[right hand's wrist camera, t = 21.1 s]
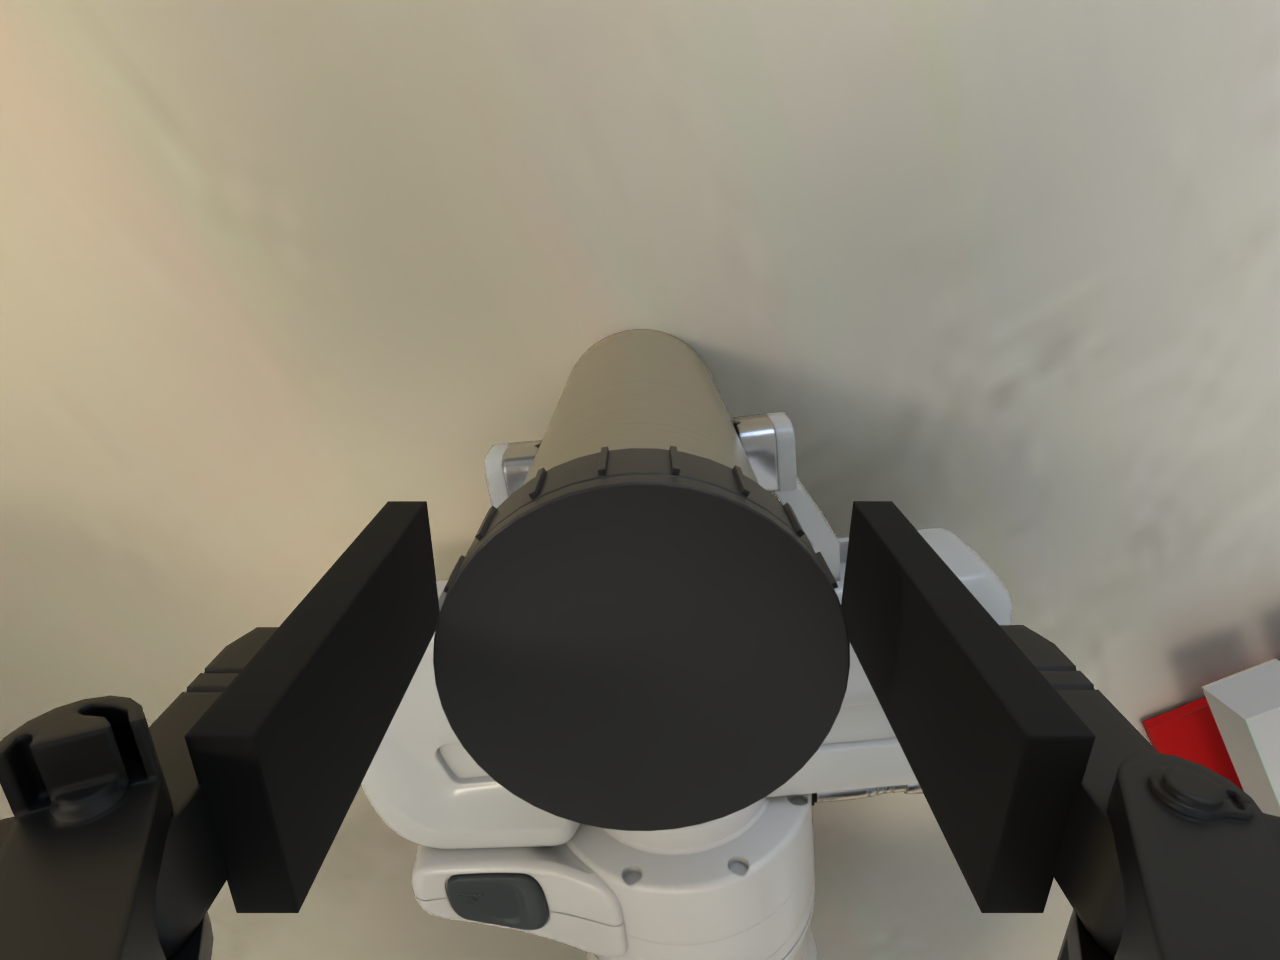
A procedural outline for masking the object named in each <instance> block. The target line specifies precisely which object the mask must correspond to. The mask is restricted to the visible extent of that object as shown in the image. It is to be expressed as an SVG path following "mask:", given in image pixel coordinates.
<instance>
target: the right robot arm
mask: <svg viewBox="0 0 1280 960" xmlns="http://www.w3.org/2000/svg"><path fill="white" fill-rule="evenodd" d="M841 607H842V610H843V613H844V616H845V619H846V623H847V629H848V635H849V641H850V643H851V646H852V648H853V650H854V652H855V654H856V656H857V658H858V660H859V662H860V664H861V666H862V668H863V670H864V672H865V674H866V676H867V678H868V680H869V682H870V685H871V687H872V689H873V691H874V693H875V695H876V697H877V699H878V701H879V703H880V705H881V707H882V709H883V711H884V713H885V715H886V717H887V719H888V721H889V724H890V726H891V728H892V730H893V732H894V734H895V736H896V738H897V740H898V742H899V744H900V746H901V748H902V750H903V752H904V754H905V756H906V758H907V760H908V763H909V765H910V767H911V769H912V771H913V773H914V775H915V777H916V779H917V781H918V783H919V785H920V787H921V789H922V791H923V793H924V795H925V797H926V799H927V802H928V804H929V806H930V808H931V810H932V812H933V814H934V816H935V818H936V820H937V822H938V824H939V826H940V828H941V830H942V832H943V834H944V836H945V838H946V841H947V843H948V845H949V847H950V849H951V851H952V853H953V855H954V857H955V859H956V861H957V863H958V865H959V867H960V869H961V871H962V873H963V875H964V877H965V879H966V882H967V884H968V886H969V888H970V890H971V892H972V894H973V896H974V898H975V900H976V902H977V904H978V906H979V908H980V910H981V912H982V913H1043V912H1044V908H1045V905H1046V902H1047V898H1048V895H1049V892H1050V888H1051V885H1052V881H1053V878H1055V880H1056V881H1057V883H1058V884H1059V886H1060V888H1061V889H1062V891H1063V892H1064V894H1065V896H1066V897H1067V899H1068V900H1069V902H1070V904H1071V905H1072V907H1073V912H1072V915H1071V918H1070V922H1069V925H1068V928H1067V931H1066V934H1065V937H1064V940H1063V944H1062V947H1061V950H1060V953H1059V956H1058V959H1057V960H1280V817H1278V816H1274V815H1269V814H1265V813H1263V812H1262V811H1261V810H1260V808H1259V807H1258V806H1257V804H1256V803H1255V802H1254V800H1253V799H1252V798H1251V797H1250V796H1249V795H1248V794H1246V793H1245V792H1244V791H1243V790H1241V789H1240V788H1239V787H1238V786H1237V785H1235V784H1234V783H1233V782H1232V781H1230V780H1229V779H1227V778H1225V777H1223V776H1221V775H1220V774H1218V773H1216V772H1214V771H1212V770H1210V769H1209V768H1207V767H1205V766H1203V765H1200V764H1198V763H1195V762H1192V761H1189V760H1186V759H1183V758H1180V757H1178V756H1174V755H1167V754H1160V753H1158V752H1157V751H1156V750H1155V749H1154V747H1153V746H1152V745H1151V744H1150V743H1149V742H1148V741H1147V740H1146V739H1145V738H1144V737H1143V736H1142V735H1141V734H1140V733H1139V732H1138V731H1137V730H1136V729H1135V728H1134V727H1133V726H1132V725H1131V723H1130V722H1129V721H1128V720H1127V719H1126V718H1125V717H1124V716H1123V715H1122V714H1121V713H1120V712H1119V711H1118V710H1117V709H1116V708H1115V707H1114V706H1113V705H1112V704H1111V703H1110V702H1109V701H1108V699H1107V698H1106V697H1105V696H1104V695H1103V694H1102V693H1101V692H1100V691H1099V690H1094V685H1093V684H1092V683H1091V682H1090V681H1089V680H1088V679H1087V678H1086V677H1085V675H1084V674H1083V673H1082V672H1081V671H1076V666H1075V665H1074V664H1073V663H1072V662H1071V661H1070V660H1069V659H1068V658H1067V657H1066V656H1065V655H1064V654H1063V652H1062V651H1061V650H1060V649H1059V648H1058V647H1057V646H1056V645H1055V644H1053V643H1052V642H1050V641H1048V640H1047V639H1045V638H1044V637H1042V636H1040V635H1039V634H1037V633H1035V632H1034V631H1032V630H1030V629H1029V628H1027V627H1025V626H1024V625H999V624H998V623H997V622H996V621H995V620H994V619H993V617H992V616H991V615H990V614H989V613H988V612H987V611H986V609H985V608H984V607H983V606H982V605H981V604H980V603H979V601H978V600H977V599H976V598H975V597H974V596H973V594H972V593H971V592H970V591H969V590H968V589H967V588H966V586H965V585H964V584H963V583H962V582H961V581H960V579H959V578H958V577H957V576H956V575H955V574H954V573H953V571H952V570H951V569H950V568H949V567H948V566H947V565H946V563H945V562H944V561H943V560H942V559H941V558H940V556H939V555H938V554H937V553H936V552H935V551H934V550H933V548H932V547H931V546H930V545H929V544H928V543H927V541H926V540H925V539H924V538H923V537H922V536H921V535H920V533H919V532H918V531H917V530H916V529H915V528H914V526H913V525H912V524H911V523H910V522H909V521H908V520H907V518H906V517H905V516H904V515H903V514H902V513H901V512H900V510H899V509H898V508H897V507H896V506H895V505H894V503H893V502H853V510H852V518H851V526H850V534H849V543H848V551H847V559H846V567H845V576H844V584H843V592H842V600H841ZM439 613H440V609H439V600H438V592H437V584H436V576H435V567H434V559H433V551H432V543H431V534H430V526H429V518H428V510H427V502H387V503H386V505H385V506H384V507H383V508H382V509H381V510H380V512H379V513H378V514H377V515H376V516H375V517H374V518H373V520H372V521H371V522H370V523H369V524H368V525H367V526H366V528H365V529H364V530H363V531H362V532H361V533H360V535H359V536H358V537H357V538H356V539H355V540H354V541H353V543H352V544H351V545H350V546H349V547H348V548H347V550H346V551H345V552H344V553H343V554H342V555H341V556H340V558H339V559H338V560H337V561H336V562H335V563H334V565H333V566H332V567H331V568H330V569H329V570H328V571H327V573H326V574H325V575H324V576H323V577H322V578H321V579H320V581H319V582H318V583H317V584H316V585H315V586H314V588H313V589H312V590H311V591H310V592H309V593H308V594H307V596H306V597H305V598H304V599H303V600H302V601H301V603H300V604H299V605H298V606H297V607H296V608H295V609H294V611H293V612H292V613H291V614H290V615H289V616H288V617H287V619H286V620H285V621H284V622H283V623H282V624H281V626H280V627H257V628H255V629H254V630H252V631H251V632H249V633H247V634H246V635H244V636H242V637H241V638H239V639H237V640H236V641H234V642H233V643H231V644H229V645H228V646H226V647H225V648H224V649H223V650H222V651H221V652H220V653H219V654H218V655H217V657H216V658H215V659H214V660H213V661H212V662H211V663H210V664H209V665H208V666H207V667H206V668H205V672H204V673H200V674H199V675H198V676H197V678H196V679H195V680H194V681H193V682H192V683H191V684H190V685H189V686H188V687H187V692H182V693H181V694H180V695H179V696H178V698H177V699H176V700H175V701H174V702H173V703H172V704H171V705H170V706H169V707H168V708H167V709H166V710H165V711H164V712H163V713H162V714H161V715H160V716H159V717H158V719H157V720H156V721H155V722H154V723H153V724H152V725H151V726H150V727H149V728H148V725H147V721H146V718H145V715H144V712H143V709H142V706H141V705H140V704H138V703H137V702H135V701H134V700H132V699H131V698H125V697H116V696H105V697H98V698H90V699H84V700H80V701H77V702H74V703H71V704H68V705H64V706H61V707H58V708H55V709H53V710H51V711H49V712H47V713H45V714H42V715H40V716H38V717H36V718H34V719H32V720H30V721H28V722H26V723H25V724H23V725H22V726H21V727H19V728H18V729H16V730H15V731H13V732H12V733H11V734H9V735H8V736H6V737H5V738H3V740H2V741H1V742H0V784H1V786H2V788H3V791H4V793H5V795H6V798H7V800H8V802H9V805H10V807H11V809H12V812H13V814H14V816H15V817H11V818H7V819H3V820H0V960H211V955H212V946H213V933H212V927H211V922H210V918H209V915H208V912H207V911H208V909H209V907H210V906H211V904H212V903H213V901H214V899H215V898H216V896H217V895H218V893H219V891H220V890H221V888H222V886H223V885H224V883H225V882H226V880H227V881H228V885H229V888H230V892H231V895H232V898H233V902H234V905H235V908H236V912H237V913H298V912H299V910H300V908H301V906H302V904H303V902H304V900H305V898H306V896H307V894H308V892H309V890H310V888H311V886H312V884H313V882H314V879H315V877H316V875H317V873H318V871H319V869H320V867H321V865H322V863H323V861H324V859H325V857H326V855H327V853H328V851H329V849H330V847H331V845H332V843H333V840H334V838H335V836H336V834H337V832H338V830H339V828H340V826H341V824H342V822H343V820H344V818H345V816H346V814H347V812H348V810H349V808H350V806H351V804H352V802H353V799H354V797H355V795H356V793H357V791H358V789H359V787H360V785H361V783H362V781H363V779H364V777H365V775H366V773H367V771H368V769H369V767H370V765H371V763H372V760H373V758H374V756H375V754H376V752H377V750H378V748H379V746H380V744H381V742H382V740H383V738H384V736H385V734H386V732H387V730H388V728H389V726H390V724H391V721H392V719H393V717H394V715H395V713H396V711H397V709H398V707H399V705H400V703H401V701H402V699H403V697H404V695H405V693H406V691H407V689H408V687H409V685H410V682H411V680H412V678H413V676H414V674H415V672H416V670H417V668H418V666H419V664H420V662H421V660H422V658H423V656H424V654H425V652H426V650H427V648H428V646H429V643H430V641H431V639H432V637H433V635H434V633H435V631H436V626H437V621H438V616H439Z"/></svg>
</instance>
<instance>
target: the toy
mask: <svg viewBox="0 0 1280 960" xmlns="http://www.w3.org/2000/svg"><path fill="white" fill-rule="evenodd" d="M1202 689H1203V692H1204V694H1205V697H1203V698H1201V699H1198V700H1196V701H1193V702H1191V703H1188V704H1186V705H1183V706H1181V707H1178V708H1176V709H1174V710H1171V711H1169V712H1166V713H1164V714H1161V715H1159V716H1156V717H1154V718H1151V719H1149V720H1146V721H1144V722H1142V723H1143V725H1144V728H1145V730H1146V732H1147V734H1148V736H1149V738H1150V740H1151V742H1152V744H1153V746H1154V749H1155V750H1156V751H1157V752H1158V753H1160V754H1167V755H1174V756H1178V757H1180V758H1183V759H1186V760H1189V761H1192V762H1195V763H1198V764H1200V765H1203V766H1205V767H1207V768H1209V769H1210V770H1212V771H1214V772H1216V773H1218V774H1220V775H1221V776H1223V777H1225V778H1227V779H1229V780H1230V781H1232V782H1233V783H1234V784H1235V785H1237V786H1238V787H1239V788H1240V789H1241V790H1243V791H1244V792H1245V793H1246V794H1248V795H1249V796H1250V797H1251V798H1252V799H1253V800H1254V802H1255V803H1256V804H1257V806H1258V807H1259V808H1260V810H1261V811H1262V812H1263V813H1265V814H1269V815H1274V816H1278V817H1280V661H1279V660H1277V659H1276V658H1274V659H1272V660H1269V661H1267V662H1264V663H1261V664H1259V665H1256V666H1254V667H1251V668H1248V669H1246V670H1243V671H1241V672H1238V673H1235V674H1233V675H1230V676H1228V677H1225V678H1222V679H1220V680H1217V681H1215V682H1212V683H1209V684H1207V685H1204V686H1202Z"/></svg>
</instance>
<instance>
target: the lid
mask: <svg viewBox="0 0 1280 960" xmlns="http://www.w3.org/2000/svg"><path fill="white" fill-rule="evenodd" d="M835 588H838V585H837V582H836V580H835V578H834V576H833V575H832V573H831V571H830V569H829V567H828V565H827V563H826V561H825V559H824V558H823V556H822V554H821V552H817V553H815V551H814V549H813V547H812V545H811V543H810V541H809V539H808V538H807V536H806V534H805V532H804V530H803V529H802V527H801V525H800V523H799V521H798V519H797V517H796V515H795V513H794V511H793V509H792V507H791V506H790V505H789V504H788V503H786V504H784V505H782V504H781V503H780V502H779V501H778V500H777V499H776V498H775V497H774V496H773V495H772V494H771V493H769V492H768V491H767V490H766V489H764V488H763V487H762V486H760V485H759V484H758V483H756V482H755V481H754V480H752V479H750V478H748V477H747V476H745V475H743V472H742V470H741V468H740V467H738V466H736V465H735V466H734V468H730V467H728V466H725V465H723V464H720V463H718V462H715V461H713V460H711V459H708V458H704V457H700V456H697V455H693V454H689V453H685V452H680V451H677V447H676V446H670V449H669V450H665V449H658V448H628V449H619V450H610V451H609V449H608V447H602V448H601V452H599V453H595V454H591V455H586V456H582V457H578V458H576V459H573V460H571V461H568V462H565V463H563V464H560V465H558V466H555V467H553V468H551V469H549V470H547V471H546V470H545V469H544V467H543V468H541V469H539V470H538V472H537V474H536V477H534V478H533V479H531V480H530V481H528V482H527V483H526V484H524V485H523V486H522V487H520V488H519V489H517V490H516V491H515V492H513V493H512V494H511V495H510V496H509V497H508V498H507V499H506V500H505V501H504V502H503V503H502V504H501V505H500V506H499V507H498V508H495V507H494V506H492V507H491V508H490V509H489V511H488V513H487V515H486V517H485V519H484V521H483V523H482V525H481V527H480V529H479V531H478V532H477V534H476V536H475V540H474V541H473V543H472V545H471V547H470V549H469V551H468V553H467V555H466V557H464V556H461V557H460V559H459V561H458V563H457V564H456V566H455V568H454V570H453V572H452V574H451V576H450V578H449V580H448V582H447V584H446V586H445V588H444V591H443V592H446V593H447V594H446V597H445V600H444V602H443V605H442V608H441V610H440V613H439V616H438V621H437V626H436V631H435V636H434V650H433V665H434V674H435V683H436V687H437V691H438V695H439V698H440V702H441V706H442V708H443V711H444V713H445V715H446V717H447V720H448V722H449V724H450V727H451V729H452V730H453V732H454V733H455V735H456V737H457V738H458V740H459V741H460V743H461V745H462V746H463V748H464V749H465V750H466V751H467V752H468V754H469V755H470V756H471V757H472V759H473V760H474V761H475V762H476V763H477V765H478V766H480V767H481V768H482V769H483V770H484V771H485V772H486V773H487V774H488V775H489V776H490V777H491V778H492V779H493V780H494V781H496V782H497V783H498V784H500V785H501V786H503V787H504V788H505V789H507V790H508V791H509V792H511V793H512V794H513V795H515V796H517V797H519V798H520V799H522V800H524V801H526V802H527V803H529V804H531V805H533V806H534V807H537V808H539V809H541V810H543V811H546V812H548V813H550V814H553V815H555V816H558V817H561V818H564V819H567V820H570V821H573V822H577V823H580V824H585V825H590V826H594V827H599V828H605V829H614V830H623V831H658V830H669V829H678V828H683V827H689V826H694V825H699V824H703V823H706V822H709V821H713V820H716V819H719V818H723V817H725V816H728V815H730V814H733V813H735V812H737V811H740V810H742V809H745V808H747V807H748V806H750V805H752V804H754V803H756V802H758V801H759V800H761V799H763V798H765V797H767V796H768V795H769V794H771V793H772V792H774V791H775V790H776V789H778V788H779V787H781V786H782V785H784V784H785V783H786V782H787V781H788V780H790V779H791V778H792V777H793V776H794V775H795V774H796V773H797V772H798V771H800V770H801V769H802V768H803V767H804V766H805V764H806V763H807V762H808V761H809V760H810V759H811V757H812V756H813V755H814V754H815V753H816V752H817V751H818V749H819V748H820V746H821V745H822V743H823V742H824V740H825V738H826V737H827V735H828V734H829V732H830V731H831V729H832V727H833V724H834V722H835V720H836V718H837V716H838V714H839V712H840V709H841V706H842V702H843V699H844V696H845V693H846V689H847V683H848V676H849V669H850V641H849V635H848V629H847V623H846V619H845V616H844V613H843V610H842V607H841V604H840V601H839V598H838V596H837V594H836V592H835V590H834V589H835Z"/></svg>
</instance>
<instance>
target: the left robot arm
mask: <svg viewBox="0 0 1280 960" xmlns="http://www.w3.org/2000/svg"><path fill="white" fill-rule="evenodd" d="M733 426H734V428H735V430H736V433H737V435H738V437H739V440H740V442H741V444H742V446H743V449H744V451H745V453H746V456H747V458H748V460H749V463H750V465H751V467H752V469H753V472H754V474H755V476H756V479H757V481H758V483H759V485H760V486H762V487H763V488H764V489H766V490H767V491H774V493H775V495H776V496H777V497H778V499H779V500H780V502H781V503H782V504H783V505H784V504H786V503H788V504H789V505H790V506H791V507H792V509H793V511H794V513H795V515H796V517H797V519H798V521H799V523H800V525H801V527H802V529H803V530H804V532H805V534H806V536H807V538H808V539H809V541H810V543H811V545H812V547H813V549H814V551H815V553H817V552H821V554H822V556H823V558H824V559H825V561H826V563H827V565H828V567H829V569H830V571H831V573H832V575H833V576H834V578H835V580H836V582H837V585H838V588H835V589H834V590H835V592H836V594H837V596H838V598H839V601H840V604H841V600H842V592H843V584H844V576H845V567H846V559H847V551H848V543H849V537H844V538H837V537H836V535H835V534H834V532H833V530H832V529H831V527H830V525H829V524H828V522H827V520H826V518H825V517H824V515H823V513H822V512H821V510H820V509H819V508H818V506H817V505H816V503H815V502H814V501H813V499H812V498H811V496H810V495H809V493H808V492H807V491H806V489H805V488H804V486H803V485H802V484H801V482H800V481H799V479H798V478H797V471H796V448H795V435H794V430H793V425H792V422H791V421H790V419H789V418H788V416H787V415H786V414H785V412H777V413H768V414H759V415H751V416H743V417H735V418H733ZM541 442H542V440H538V441H528V442H518V443H504V444H498V445H493V446H492V447H491V449H490V450H489V452H488V454H487V455H486V457H485V476H486V480H487V485H488V490H489V495H490V499H491V504H492V506H494V507H495V508H498V507H499V506H500V505H501V504H502V503H503V502H504V501H505V500H506V499H507V498H508V497H509V496H510V495H511V494H512V493H513V492H515V491H516V490H517V489H519V488H520V487H522V486H523V484H524V482H525V480H526V477H527V475H528V473H529V470H530V468H531V466H532V463H533V461H534V459H535V456H536V454H537V452H538V449H539V447H540V445H541ZM917 531H918V532H919V533H920V535H921V536H922V537H923V538H924V539H925V540H926V541H927V543H928V544H929V545H930V546H931V547H932V548H933V550H934V551H935V552H936V553H937V554H938V555H939V556H940V558H941V559H942V560H943V561H944V562H945V563H946V565H947V566H948V567H949V568H950V569H951V570H952V571H953V573H954V574H955V575H956V576H957V577H958V578H959V579H960V581H961V582H962V583H963V584H964V585H965V586H966V588H967V589H968V590H969V591H970V592H971V593H972V594H973V596H974V597H975V598H976V599H977V600H978V601H979V603H980V604H981V605H982V606H983V607H984V608H985V609H986V611H987V612H988V613H989V614H990V615H991V616H992V617H993V619H994V620H995V621H996V622H997V623H998V624H999V625H1011V616H1012V602H1011V598H1010V595H1009V592H1008V591H1007V589H1006V587H1005V585H1004V584H1003V582H1002V581H1001V580H1000V578H999V577H998V576H997V574H996V573H995V572H994V571H993V570H992V569H991V567H990V566H989V565H988V564H987V563H986V562H985V561H984V560H983V559H982V558H981V557H980V556H979V555H978V554H977V553H976V552H975V551H974V550H973V549H971V548H970V547H969V546H968V545H967V544H965V543H964V542H963V541H962V540H961V539H959V538H958V537H957V536H956V535H954V534H953V533H952V532H950V531H948V530H946V529H942V528H929V529H919V530H917ZM448 580H449V579H448ZM448 580H439V581H436V584H437V592H438V600H439V609H440V610H441V608H442V605H443V602H444V600H445V597H446V594H447V593H446V592H443V591H444V588H445V586H446V584H447V582H448ZM434 636H435V633H434V635H433V637H432V639H431V641H430V643H429V646H428V648H427V650H426V652H425V654H424V656H423V658H422V660H421V662H420V664H419V666H418V668H417V670H416V672H415V674H414V676H413V678H412V680H411V682H410V685H409V687H408V689H407V691H406V693H405V695H404V697H403V699H402V701H401V703H400V705H399V707H398V709H397V711H396V713H395V715H394V717H393V719H392V721H391V724H390V726H389V728H388V730H387V732H386V734H385V736H384V738H383V740H382V742H381V744H380V746H379V748H378V750H377V752H376V754H375V756H374V758H373V760H372V763H371V765H370V767H369V769H368V771H367V773H366V775H365V777H364V779H363V781H362V783H361V786H362V788H363V790H364V792H365V794H366V796H367V798H368V800H369V802H370V803H371V805H372V807H373V808H374V810H375V811H376V813H377V814H378V815H379V817H380V818H381V819H382V820H383V821H384V822H385V823H386V824H387V826H388V827H389V828H391V829H392V830H393V831H394V832H396V833H397V834H398V835H400V836H401V837H403V838H405V839H407V840H409V841H411V842H413V843H416V844H418V849H417V854H416V859H415V863H414V868H413V874H412V887H413V891H414V895H415V897H416V900H417V902H418V904H419V905H420V906H421V907H422V909H423V910H425V911H426V912H427V913H429V914H431V915H434V916H436V917H440V918H444V919H449V920H456V921H463V922H470V923H477V924H483V925H489V926H495V927H501V928H506V929H511V930H516V931H521V932H525V933H529V934H533V935H538V936H541V937H545V938H548V939H552V940H555V941H558V942H561V943H564V944H567V945H570V946H572V947H575V948H578V949H580V950H583V951H586V952H587V960H818V959H817V951H816V946H815V941H814V937H813V934H812V931H811V927H810V923H811V919H812V914H813V908H814V901H815V870H814V846H813V819H812V806H813V805H814V803H815V802H816V803H820V802H832V801H843V800H854V799H861V798H867V796H868V797H871V796H875V795H880V794H883V793H891V792H892V793H896V792H904V793H905V794H920V793H923V791H922V789H921V787H920V785H919V783H918V781H917V779H916V777H915V775H914V773H913V771H912V769H911V767H910V765H909V763H908V760H907V758H906V756H905V754H904V752H903V750H902V748H901V746H900V744H899V742H898V740H897V738H896V736H895V734H894V732H893V730H892V728H891V726H890V724H889V721H888V719H887V717H886V715H885V713H884V711H883V709H882V707H881V705H880V703H879V701H878V699H877V697H876V695H875V693H874V691H873V689H872V687H871V685H870V682H869V680H868V678H867V676H866V674H865V672H864V670H863V668H862V666H861V664H860V662H859V660H858V658H857V656H856V654H855V652H854V650H853V648H852V646H851V643H850V669H849V676H848V683H847V689H846V693H845V696H844V699H843V702H842V706H841V709H840V712H839V714H838V716H837V718H836V720H835V722H834V724H833V727H832V729H831V731H830V732H829V734H828V735H827V737H826V738H825V740H824V742H823V743H822V745H821V746H820V748H819V749H818V751H817V752H816V753H815V754H814V755H813V756H812V757H811V759H810V760H809V761H808V762H807V763H806V764H805V766H804V767H803V768H802V769H801V770H800V771H798V772H797V773H796V774H795V775H794V776H793V777H792V778H791V779H790V780H788V781H787V782H786V783H785V784H784V785H782V786H781V787H779V788H778V789H776V790H775V791H774V792H772V793H771V794H769V795H768V796H767V797H765V798H763V799H761V800H759V801H758V802H756V803H754V804H752V805H750V806H748V807H747V808H745V809H742V810H740V811H737V812H735V813H733V814H730V815H728V816H725V817H723V818H719V819H716V820H713V821H709V822H706V823H703V824H699V825H694V826H689V827H683V828H678V829H669V830H658V831H623V830H614V829H605V828H599V827H594V826H590V825H585V824H580V823H577V822H573V821H570V820H567V819H564V818H561V817H558V816H555V815H553V814H550V813H548V812H546V811H543V810H541V809H539V808H537V807H534V806H533V805H531V804H529V803H527V802H526V801H524V800H522V799H520V798H519V797H517V796H515V795H513V794H512V793H511V792H509V791H508V790H507V789H505V788H504V787H503V786H501V785H500V784H498V783H497V782H496V781H494V780H493V779H492V778H491V777H490V776H489V775H488V774H487V773H486V772H485V771H484V770H483V769H482V768H481V767H480V766H478V765H477V763H476V762H475V761H474V760H473V759H472V757H471V756H470V755H469V754H468V752H467V751H466V750H465V749H464V748H463V746H462V745H461V743H460V741H459V740H458V738H457V737H456V735H455V733H454V732H453V730H452V729H451V727H450V724H449V722H448V720H447V717H446V715H445V713H444V711H443V708H442V706H441V702H440V698H439V695H438V691H437V687H436V683H435V674H434V665H433V650H434Z"/></svg>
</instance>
